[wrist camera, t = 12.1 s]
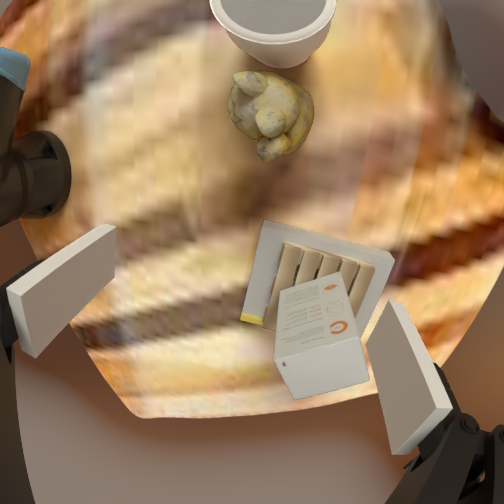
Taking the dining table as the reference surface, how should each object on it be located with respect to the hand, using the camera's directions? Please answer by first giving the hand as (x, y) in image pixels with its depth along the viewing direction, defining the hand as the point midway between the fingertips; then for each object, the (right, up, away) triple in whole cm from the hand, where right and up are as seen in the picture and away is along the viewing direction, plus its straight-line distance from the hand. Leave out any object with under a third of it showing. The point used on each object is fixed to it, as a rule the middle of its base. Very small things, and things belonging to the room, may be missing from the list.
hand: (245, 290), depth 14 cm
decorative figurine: (+4, +19, +22) cm, 29 cm away
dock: (+9, -2, +30) cm, 31 cm away
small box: (+9, -4, +25) cm, 27 cm away
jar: (+4, +28, +18) cm, 34 cm away
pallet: (+9, -4, +27) cm, 29 cm away
